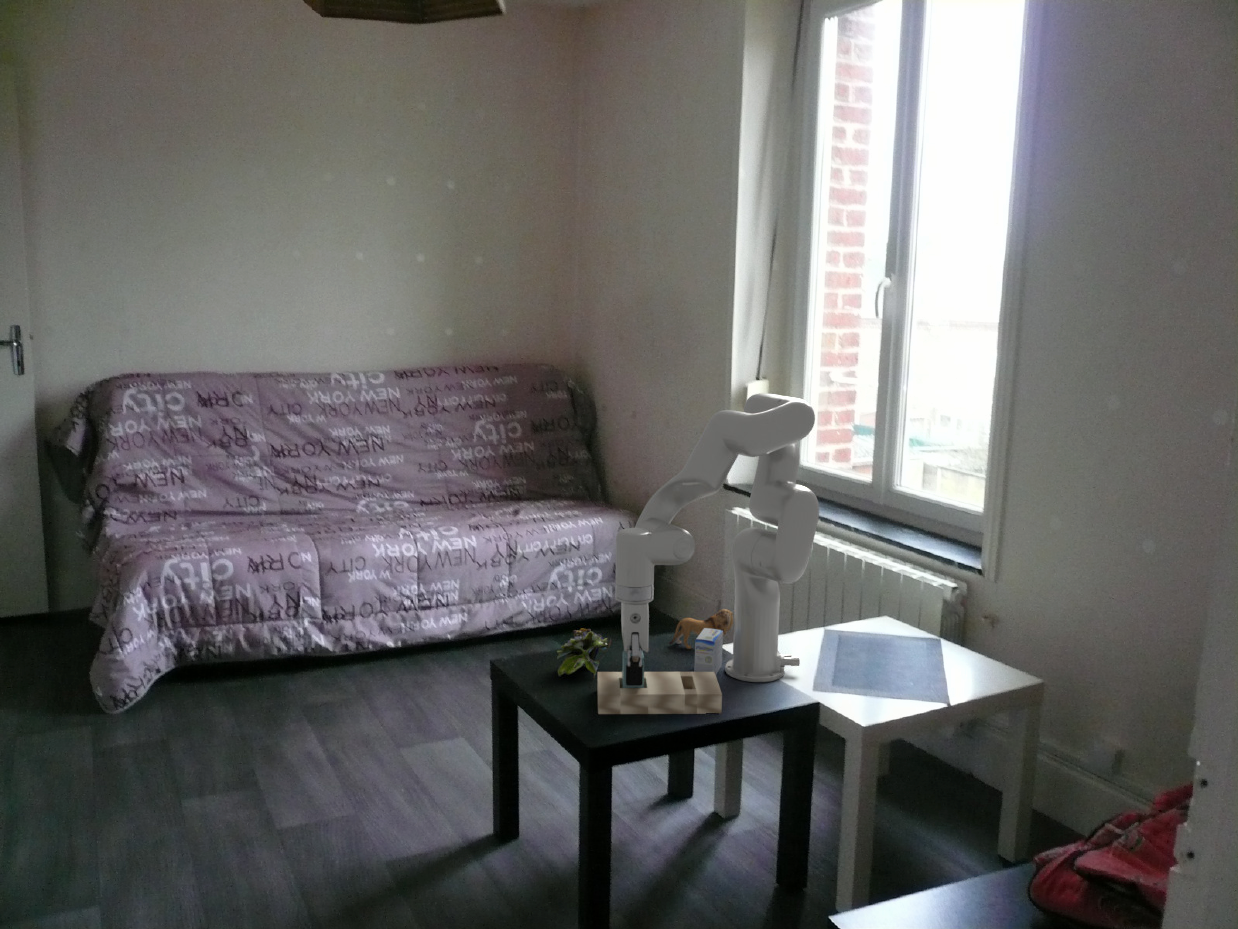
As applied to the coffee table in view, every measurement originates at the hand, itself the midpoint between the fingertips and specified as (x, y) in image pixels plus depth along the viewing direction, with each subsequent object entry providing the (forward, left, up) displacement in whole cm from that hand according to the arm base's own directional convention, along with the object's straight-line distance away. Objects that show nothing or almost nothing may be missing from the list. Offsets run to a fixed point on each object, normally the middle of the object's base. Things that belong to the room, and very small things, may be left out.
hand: (633, 677), depth 213 cm
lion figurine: (-18, -32, -5) cm, 37 cm away
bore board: (-5, 0, -5) cm, 7 cm away
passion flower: (+9, -16, -5) cm, 19 cm away
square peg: (0, 0, -5) cm, 5 cm away
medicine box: (-17, -16, -5) cm, 24 cm away
